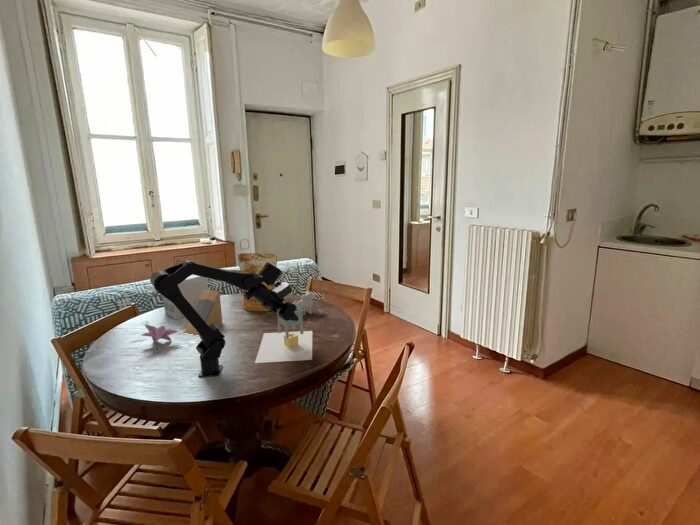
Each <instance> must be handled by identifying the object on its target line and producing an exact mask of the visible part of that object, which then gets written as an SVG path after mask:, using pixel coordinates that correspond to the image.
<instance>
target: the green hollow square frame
mask: <svg viewBox="0 0 700 525" xmlns="http://www.w3.org/2000/svg"><path fill="white" fill-rule="evenodd" d="M279 311H280V309H279V310H278V311H277V313H276V314H277V315H276V316H277V317H276V319H277V333H281V332H282V326H284V327H285V328H284V329H285V330H284V332H286V338H287V339H288V338H289V332H290V331H289V328H290V327H292V330H296V325H299V327H300V329H299V331H300V334H303V331H304V317H303V316H304V315H303V309H299V308H297V309H296V310H295V311H294V312H295V314H296V315H297V317H298V318H299V320H298V321H293V320H288V321H285V320H284V319H282V318H281V317H279V316H278V312H279Z"/></svg>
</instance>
